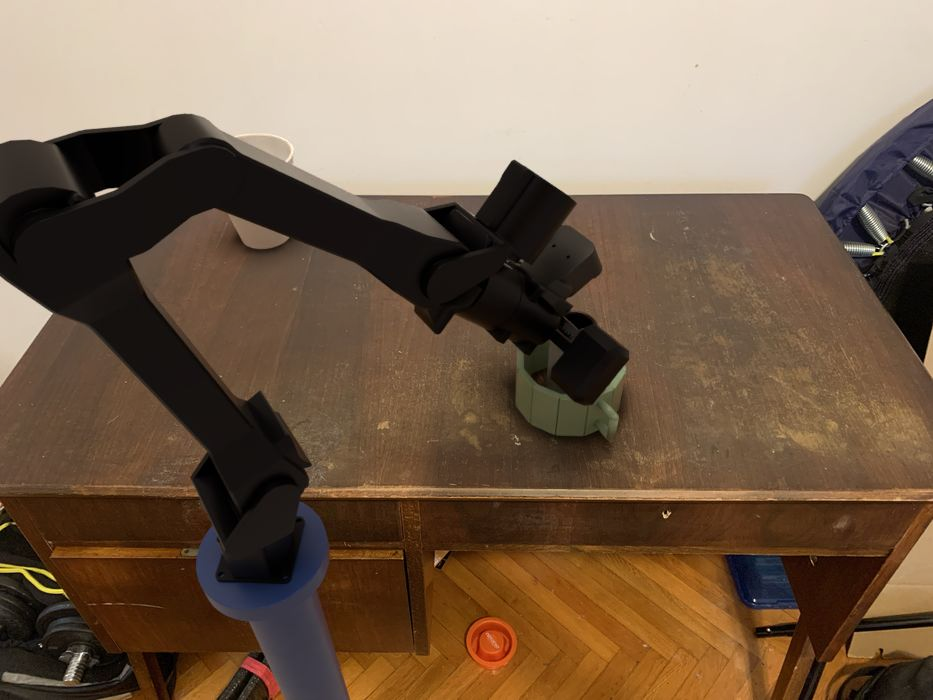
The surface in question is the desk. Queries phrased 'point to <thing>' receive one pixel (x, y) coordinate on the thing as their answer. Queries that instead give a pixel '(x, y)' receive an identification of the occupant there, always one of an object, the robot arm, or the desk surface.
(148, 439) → the desk surface
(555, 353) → the grey hollow cylinder
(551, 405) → the mug
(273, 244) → the cup
